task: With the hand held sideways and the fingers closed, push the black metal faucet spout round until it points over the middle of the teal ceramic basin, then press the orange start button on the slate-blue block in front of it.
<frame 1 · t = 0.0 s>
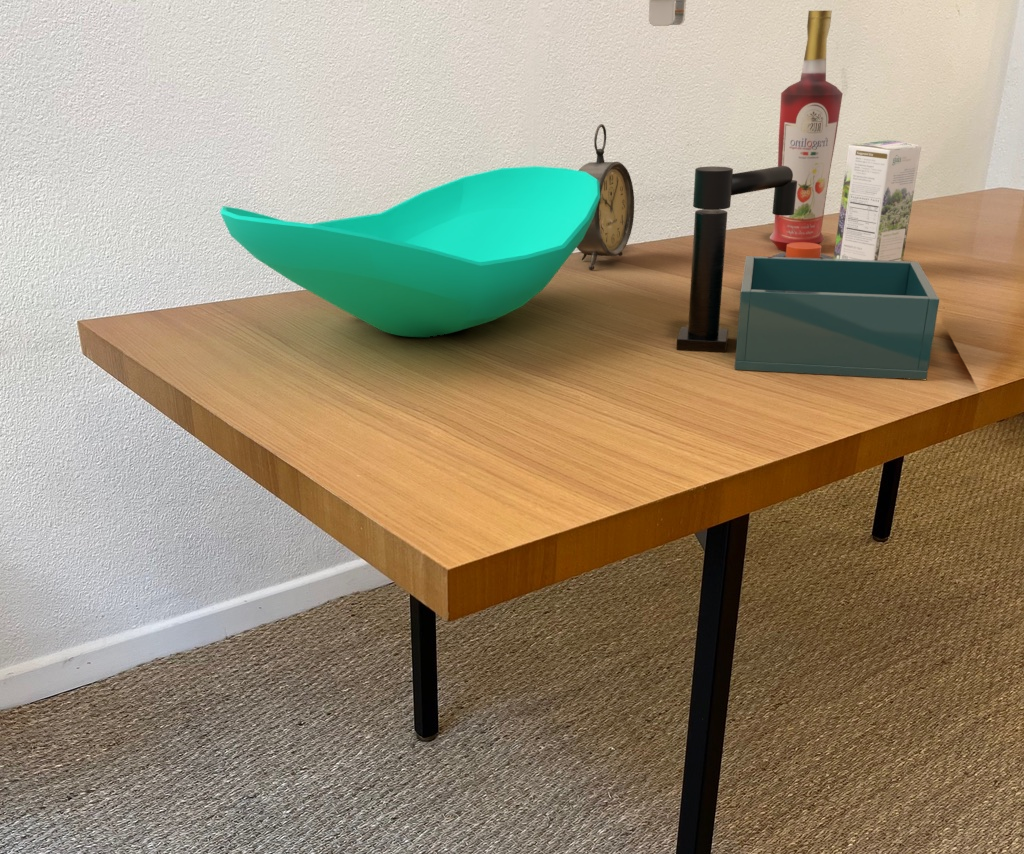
hand: (667, 25, 82), 27 cm above the table, tool pointing down, fingers open, 8 cm apart
alarm clock: (597, 264, 130), on the table
start button: (803, 253, 112), point 4 cm above the table, slide at 0.1 cm
button block: (798, 295, 114), on the table
faucet: (702, 344, 97), on the table
sink: (825, 350, 95), on the table
spout: (748, 192, 95), point 13 cm above the table, hinge at 55.0°
table top decor: (428, 330, 104), on the table
syrup box: (866, 274, 124), on the table
liquor: (795, 250, 137), on the table
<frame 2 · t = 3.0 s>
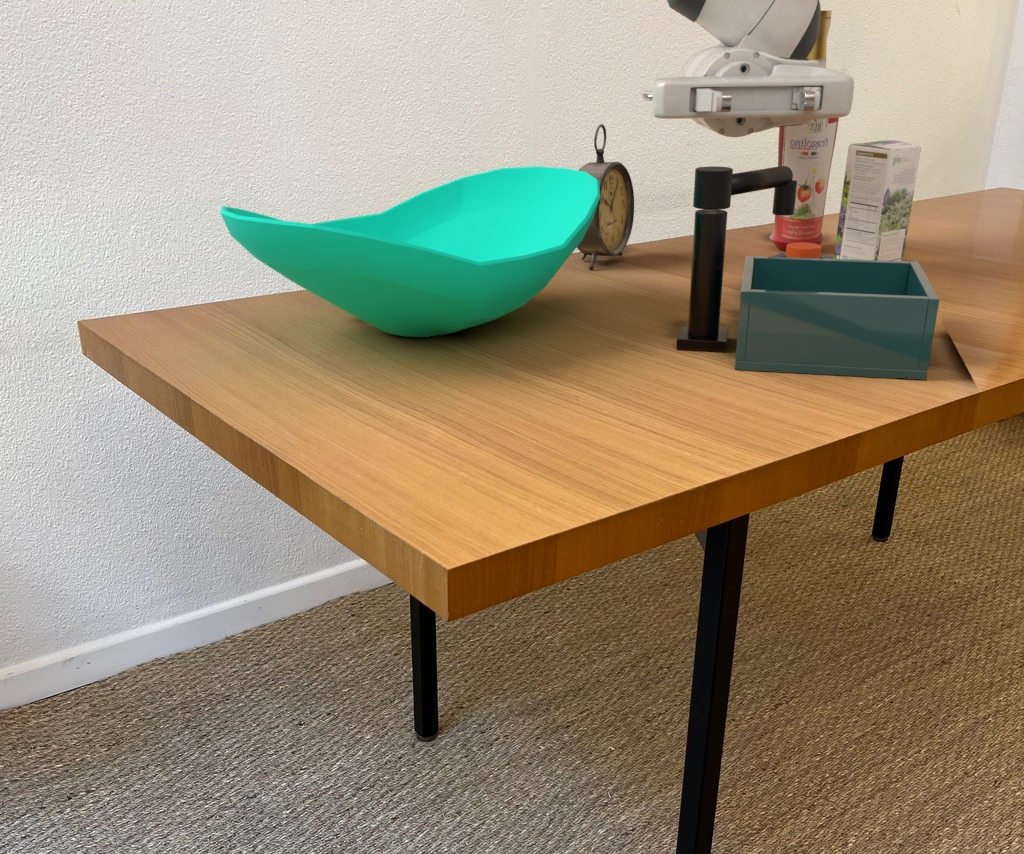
hand: (768, 102, 101), 20 cm above the table, tool horizontal, fingers open, 7 cm apart
nothing on the table moved.
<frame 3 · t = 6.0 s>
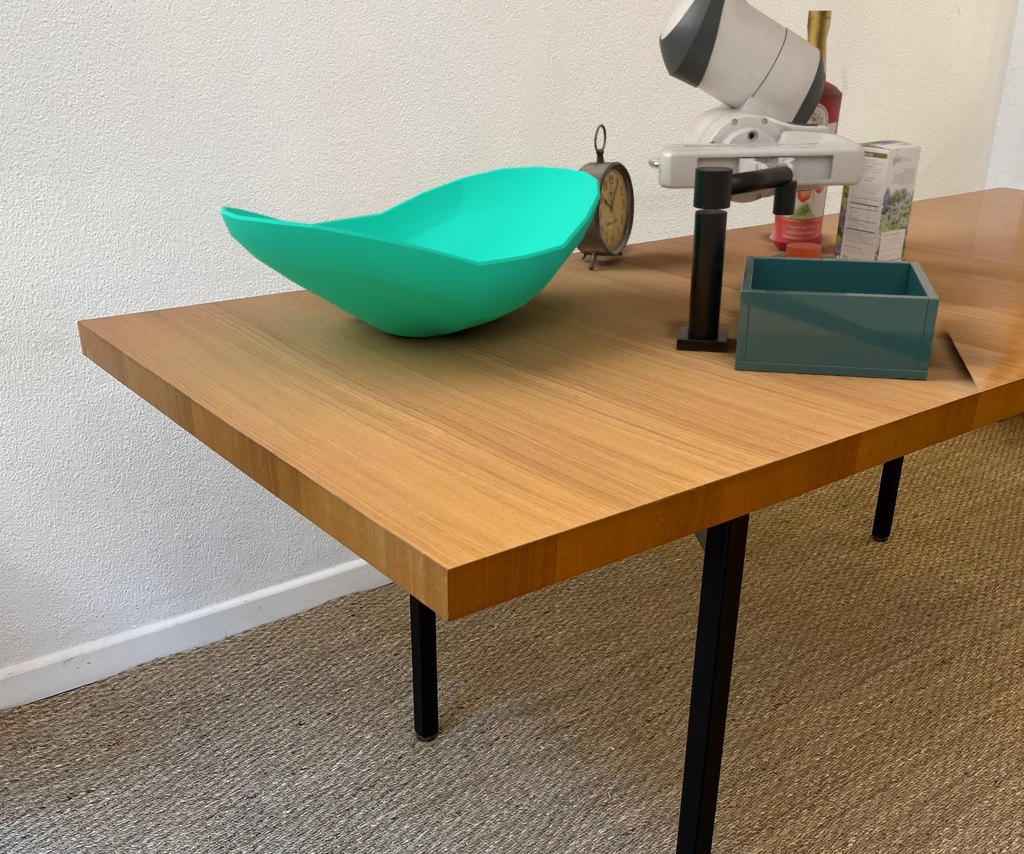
hand: (777, 175, 99), 14 cm above the table, tool horizontal, fingers closed
spout: (748, 192, 95), point 13 cm above the table, hinge at 54.9°, touching gripper
everything else where it was.
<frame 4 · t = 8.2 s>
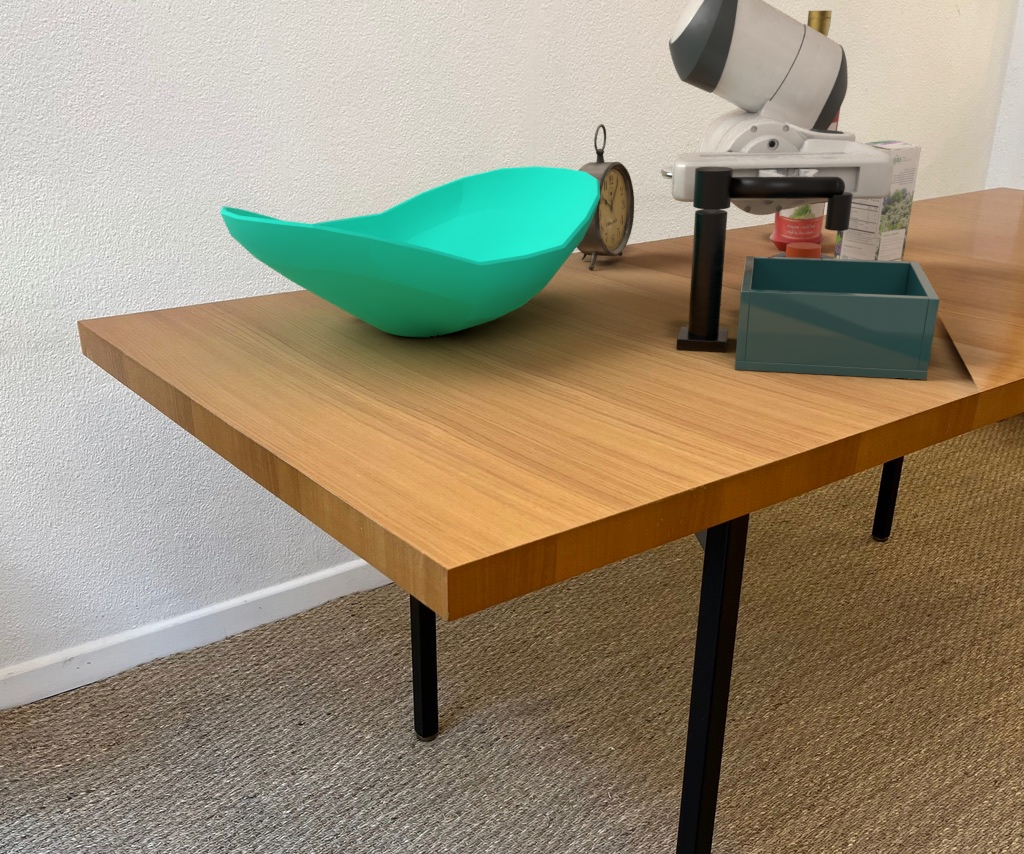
hand: (799, 189, 92), 14 cm above the table, tool horizontal, fingers closed, pressing on spout
spout: (772, 199, 91), point 13 cm above the table, hinge at 9.4°, touching gripper
everything else where it was.
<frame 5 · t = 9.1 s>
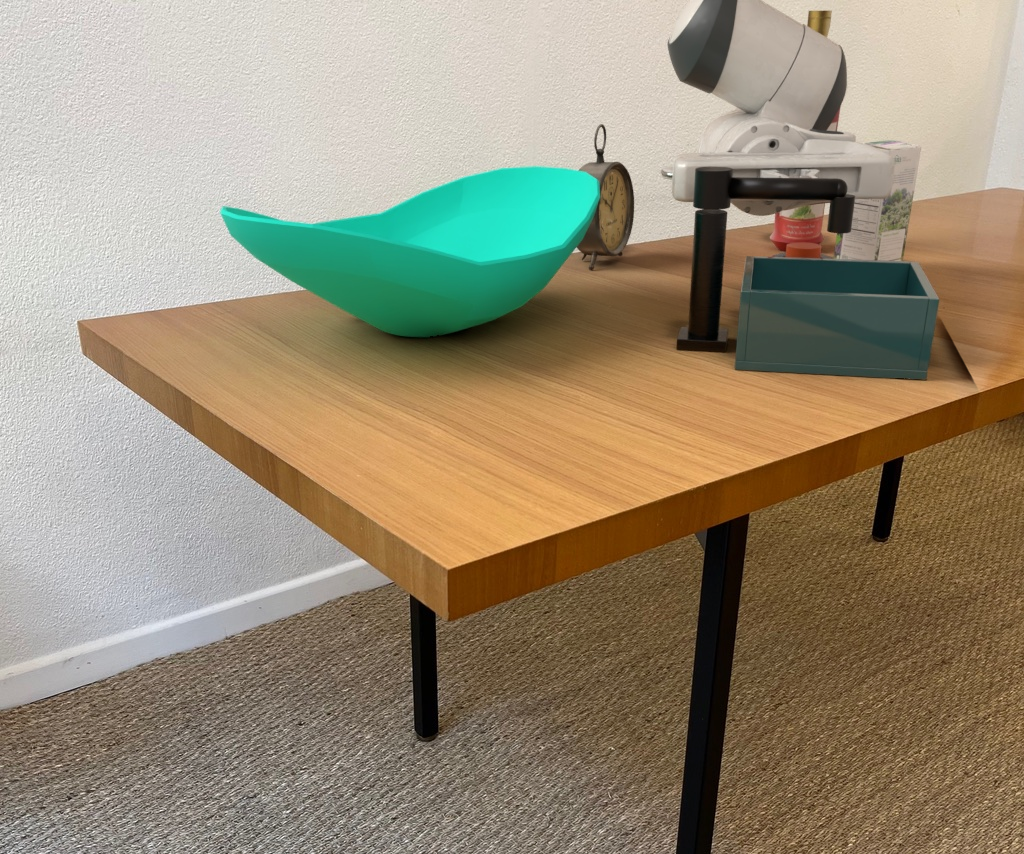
hand: (801, 189, 91), 14 cm above the table, tool horizontal, fingers closed
spout: (773, 200, 91), point 13 cm above the table, hinge at 2.9°, touching gripper
everything else where it was.
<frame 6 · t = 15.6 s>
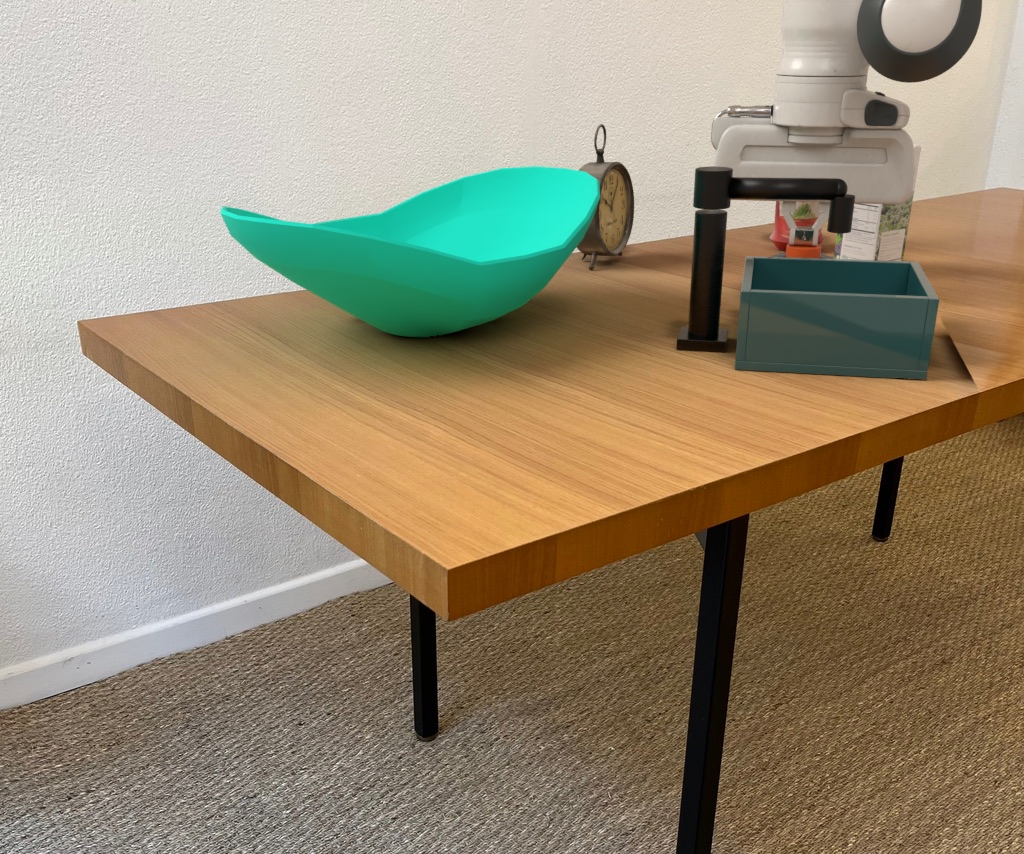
hand: (802, 245, 112), 5 cm above the table, tool pointing down, fingers closed, pressing on start button
start button: (803, 253, 112), point 4 cm above the table, slide at 0.1 cm, touching gripper
spout: (773, 200, 91), point 13 cm above the table, hinge at 2.9°
everything else where it was.
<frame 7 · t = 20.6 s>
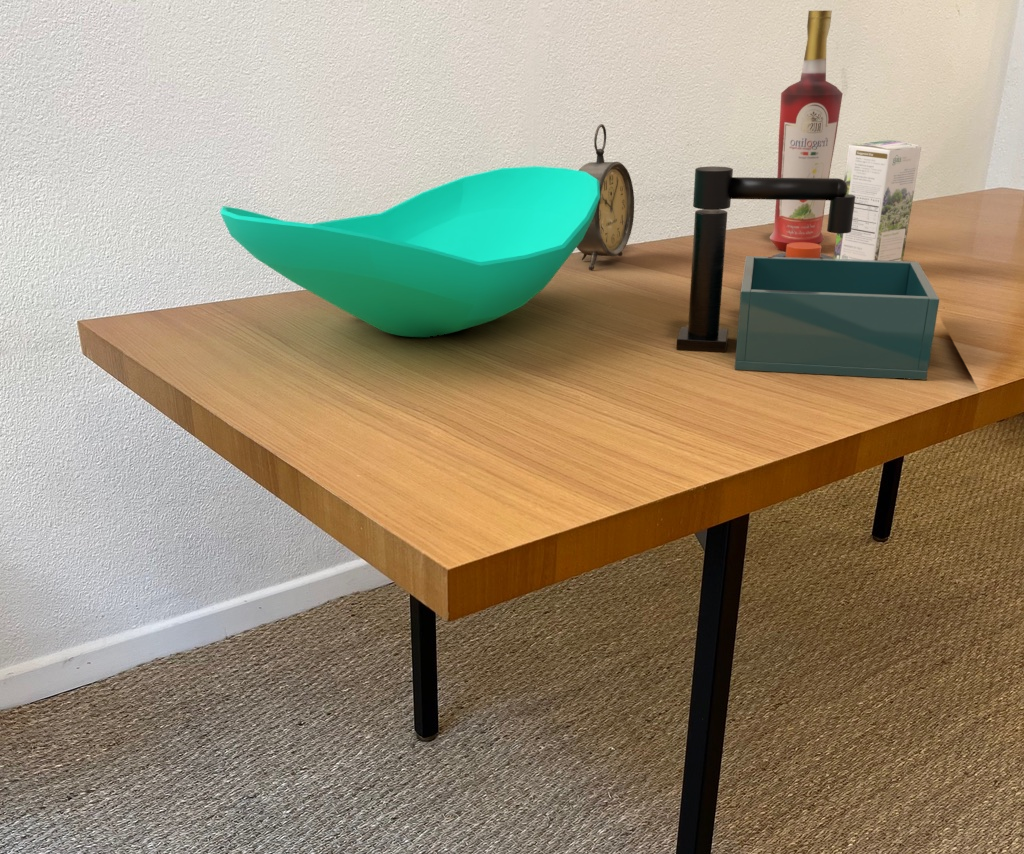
start button: (803, 253, 112), point 4 cm above the table, slide at 0.1 cm
everything else where it was.
at the end: spout at +3° (first picture: +55°); start button pushed in 1.0 cm at the most during the clip, back to where it started at the end; start button slide at 0.1 cm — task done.
